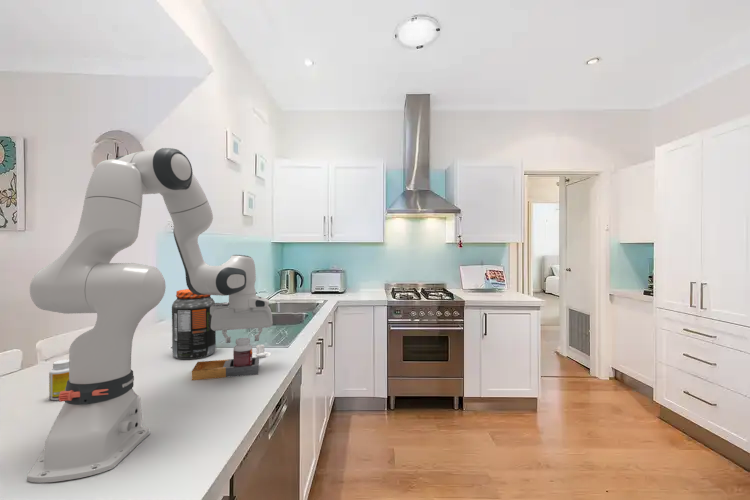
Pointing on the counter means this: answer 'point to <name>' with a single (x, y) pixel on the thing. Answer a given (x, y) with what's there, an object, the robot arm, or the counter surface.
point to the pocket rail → (223, 369)
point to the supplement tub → (192, 326)
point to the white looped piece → (260, 351)
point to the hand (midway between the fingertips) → (242, 341)
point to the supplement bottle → (58, 378)
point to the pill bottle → (242, 352)
